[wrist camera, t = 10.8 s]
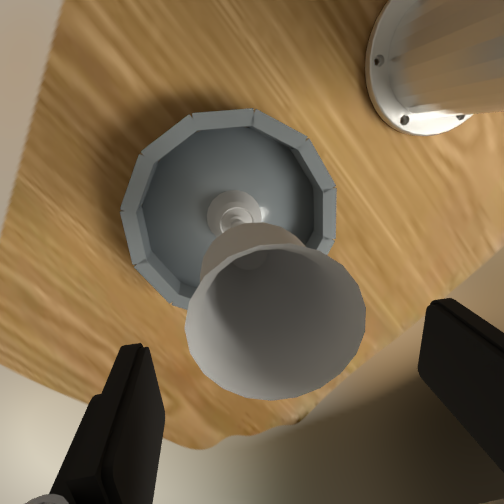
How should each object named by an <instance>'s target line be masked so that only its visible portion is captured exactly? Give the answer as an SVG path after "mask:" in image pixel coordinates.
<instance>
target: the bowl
mask: <svg viewBox="0 0 504 504" xmlns="http://www.w3.org/2000/svg"><path fill="white" fill-rule="evenodd" d="M192 117H193V119H192ZM192 117H191V116H190V114H189V115H187V116H186V117H185V118H184V119H182V120H181V121H180V122H178V123H177V124H176V125H174V126H173V127H172V128H171V129H169V130H168V131H167V132H165V133H164V134H163V135H162V136H160V137H159V138H158V139H156V140H155V141H154V142H152V143H151V144H150V145H149V146H147V147H146V148H145V149H143V150H142V151H141V154H139V155H138V158H137V161H136V164H135V167H134V170H133V173H132V176H131V179H130V181H129V184H128V187H127V190H126V193H125V196H124V199H123V202H122V205H121V208H120V209H121V211H120V215H121V219H122V223H123V227H124V231H125V235H126V239H127V244H128V248H129V252H130V256H131V260H132V264H133V265H135V266H134V268H135V269H136V270H137V271H138V272H139V273H140V274H141V275H142V276H143V277H144V278H145V279H146V280H147V281H148V282H149V283H150V284H151V285H152V286H153V287H154V288H155V289H156V290H157V291H158V292H159V293H160V294H161V295H162V296H163V297H164V298H165V300H166V301H167V302H168V303H169V304H170V303H171V302H172V305H173V306H177V307H180V308H183V309H186V310H188V305H189V301H190V299H191V298H192V296H193V294H194V293H195V291H196V289H197V288H198V286H199V284H200V272H201V267H202V261H203V257H204V255H205V253H206V252H207V250H208V248H209V247H210V245H211V243H212V242H213V241H214V240H215V239H216V238H217V237H216V236H215V235H214V234H213V233H212V232H211V230H210V228H209V226H208V222H207V212H208V208H209V206H210V204H211V202H212V201H213V199H215V198H216V197H217V196H218V195H219V194H221V193H223V192H226V191H231V190H238V191H243V192H246V193H247V194H249V195H250V196H252V197H253V198H254V199H255V200H256V202H257V203H258V205H259V208H260V210H261V222H265V223H268V224H272V225H276V226H280V227H282V228H284V229H285V230H287V231H288V232H290V233H292V234H293V235H295V236H296V237H297V238H298V239H299V240H300V241H301V242H302V243H303V244H304V245H305V246H306V247H307V248H311V249H315V250H319V251H321V252H322V253H324V254H326V255H327V254H328V253H329V251H330V249H331V247H332V245H333V244H334V242H335V241H334V240H333V239H336V188H335V186H336V185H335V183H334V181H333V180H332V178H331V176H330V174H329V173H328V171H327V169H326V167H325V165H324V164H323V162H322V160H321V158H320V157H319V155H318V153H317V151H316V150H315V148H314V146H313V144H312V142H311V141H310V139H309V138H307V136H305V135H303V134H302V133H300V132H298V131H296V130H294V129H292V128H291V127H289V126H287V125H285V124H283V123H281V122H279V121H278V120H276V119H274V118H272V117H270V116H268V115H266V114H265V113H263V112H261V111H259V110H257V109H255V110H253V108H250V109H238V110H225V111H212V112H199V113H192ZM246 127H247V128H246ZM198 131H199V132H198ZM196 132H197V133H196Z"/></svg>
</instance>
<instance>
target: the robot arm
mask: <svg viewBox="0 0 504 504" xmlns="http://www.w3.org/2000/svg"><path fill="white" fill-rule="evenodd" d="M374 60H375V61H376V65H375V62H374ZM365 76H366V85H367V89H368V93H369V97H370V99H371V101H372V104H373V106H374V108H375V110H376V111H377V113H378V114H379V115H380V117H381V118H382V120H384V121H385V122H386V123H387V124H388V125H389V126H390V127H392V128H393V129H395V130H397V131H399V132H401V133H404V134H408V135H412V136H430V135H438V134H441V133H444V132H447V131H450V130H452V129H453V128H455V127H457V126H459V125H461V124H462V123H463V122H465V121H466V120H467V119H469V118H470V117H471V116H472V115H473V114H479V113H491V112H502V111H504V0H388V2H387V3H386V4H385V6H384V7H383V9H382V11H381V12H380V14H379V16H378V17H377V19H376V22H375V24H374V27H373V29H372V32H371V34H370V38H369V42H368V46H367V50H366V60H365ZM400 119H401V122H400ZM418 372H419V375H420V377H421V378H422V379H423V380H424V382H425V383H426V384H427V385H428V386H429V387H430V389H431V390H432V391H433V392H434V393H435V394H436V395H437V397H438V398H439V399H440V400H441V401H442V402H443V403H444V405H445V406H446V407H447V408H448V409H449V410H450V411H451V413H452V414H453V415H454V416H455V417H456V418H457V420H458V421H459V422H460V423H461V424H462V425H463V426H464V428H465V429H466V430H467V431H468V432H469V433H470V435H471V436H472V437H473V438H474V439H475V440H476V441H477V443H478V444H479V445H480V446H481V447H482V448H483V449H484V450H485V452H486V453H487V454H488V455H489V456H490V458H491V459H492V460H493V461H494V462H495V463H496V464H497V466H498V467H499V468H500V469H501V470H502V471H503V472H504V333H503V332H501V331H500V330H499V329H497V328H496V327H494V326H493V325H491V324H490V323H488V322H487V321H485V320H484V319H482V318H481V317H479V316H478V315H476V314H475V313H473V312H472V311H471V310H469V309H468V308H466V307H465V306H463V305H462V304H460V303H459V302H457V301H456V300H454V299H452V298H447V299H439V300H434V301H432V302H431V303H430V305H429V306H428V307H427V309H426V315H425V322H424V329H423V335H422V342H421V349H420V355H419V362H418ZM164 424H165V410H164V406H163V402H162V398H161V394H160V390H159V386H158V382H157V378H156V374H155V370H154V366H153V362H152V358H151V354H150V350H149V348H148V347H143V345H142V344H141V343H138V344H131V345H124V346H121V348H120V350H119V352H118V355H117V357H116V360H115V362H114V365H113V367H112V369H111V372H110V374H109V377H108V379H107V382H106V384H105V386H104V389H103V391H102V394H98V395H95V396H94V397H92V399H91V401H90V403H89V405H88V407H87V409H86V412H85V414H84V416H83V418H82V421H81V423H80V425H79V427H78V430H77V432H76V434H75V436H74V439H73V441H72V443H71V445H70V448H69V450H68V452H67V455H66V457H65V459H64V461H63V464H62V466H61V468H60V470H59V473H58V475H57V477H56V479H55V482H54V484H53V486H52V488H51V491H50V493H49V494H48V495H42V496H39V497H37V498H34V499H32V500H30V501H28V502H27V503H25V504H152V502H153V497H154V490H155V483H156V477H157V470H158V464H159V457H160V450H161V444H162V437H163V431H164ZM482 504H504V499H501V500H496V501H491V502H487V503H482Z"/></svg>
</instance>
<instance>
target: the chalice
mask: <svg viewBox="0 0 504 504" xmlns="http://www.w3.org/2000/svg"><path fill="white" fill-rule="evenodd" d="M207 222H208V226H209V228H210V230H211V232H212V233H213V234H214V235H215V236H216V237H217V238H216V239H215V240H214V241H213V242H212V243H211V245H210V247H209V248H208V250H207V252H206V253H205V255H204V257H203V261H202V267H201V272H200V284H199V286H198V288H197V289H196V291H195V293H194V294H193V296H192V298H191V299H190V301H189V305H188V311H187V317H186V323H185V332H186V336H187V341H188V346H189V350H190V353H191V355H192V356H193V358H194V360H195V361H196V363H197V364H198V366H199V367H200V369H201V370H202V372H203V373H204V374H205V375H206V376H208V377H209V378H210V379H211V380H213V381H214V382H215V383H217V384H218V385H219V386H220V387H222V388H223V389H226V390H228V391H231V392H233V393H236V394H238V395H241V396H243V397H246V398H254V399H262V400H279V399H287V398H295V397H298V396H301V395H303V394H306V393H309V392H311V391H314V390H316V389H319V388H321V387H322V386H324V385H325V384H326V383H328V382H329V381H331V380H332V379H333V378H335V377H336V376H338V375H339V374H340V373H341V372H342V371H343V370H344V369H345V367H346V366H347V365H348V364H349V362H350V361H351V360H352V359H353V357H354V356H355V355H356V353H357V351H358V348H359V346H360V343H361V340H362V338H363V335H364V333H365V316H366V307H365V304H364V301H363V298H362V295H361V292H360V289H359V286H358V284H357V283H356V282H355V280H354V279H353V278H352V277H351V275H350V274H349V273H348V271H347V270H346V269H345V268H344V266H343V265H341V264H340V263H338V262H337V261H335V260H333V259H332V258H330V257H329V256H327V255H326V254H324V253H322V252H321V251H319V250H315V249H311V248H307V247H306V246H305V245H304V244H303V243H302V242H301V241H300V240H299V239H298V238H297V237H296V236H295V235H293V234H292V233H290V232H288V231H287V230H285V229H284V228H282V227H280V226H276V225H272V224H268V223H265V222H261V210H260V208H259V205H258V203H257V202H256V200H255V199H254V198H253V197H252V196H250V195H249V194H247V193H246V192H243V191H238V190H231V191H226V192H223V193H221V194H219V195H218V196H217V197H216V198H215V199H213V201H212V202H211V204H210V206H209V208H208V212H207Z"/></svg>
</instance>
